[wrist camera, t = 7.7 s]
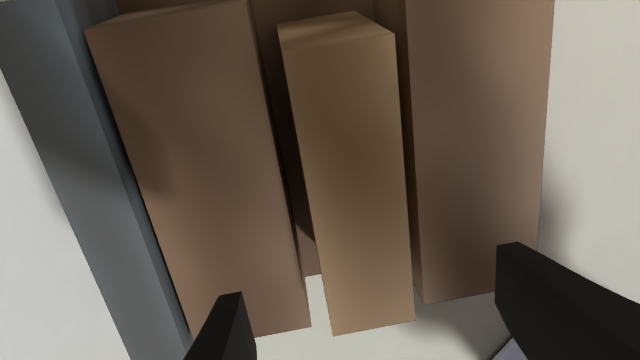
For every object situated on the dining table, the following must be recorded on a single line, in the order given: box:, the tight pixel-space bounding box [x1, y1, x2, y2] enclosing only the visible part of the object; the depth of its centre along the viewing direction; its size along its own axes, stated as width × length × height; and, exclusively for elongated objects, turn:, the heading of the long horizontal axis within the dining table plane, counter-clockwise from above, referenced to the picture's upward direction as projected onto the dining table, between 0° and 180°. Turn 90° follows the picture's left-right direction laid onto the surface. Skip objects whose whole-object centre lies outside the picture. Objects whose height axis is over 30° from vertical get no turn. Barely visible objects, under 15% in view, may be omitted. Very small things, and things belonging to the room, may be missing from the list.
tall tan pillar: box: [276, 11, 415, 336], centre depth 17 cm, size 3×10×6 cm, turn 8°
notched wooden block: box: [0, 0, 555, 360], centre depth 18 cm, size 16×14×6 cm
